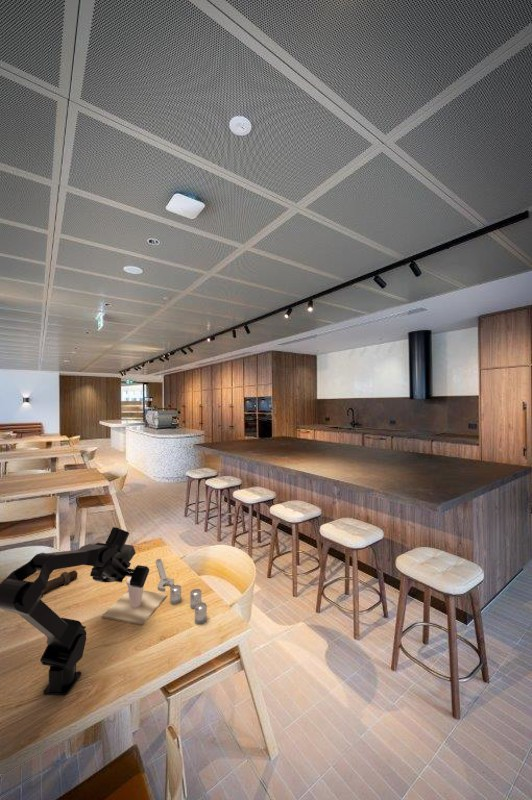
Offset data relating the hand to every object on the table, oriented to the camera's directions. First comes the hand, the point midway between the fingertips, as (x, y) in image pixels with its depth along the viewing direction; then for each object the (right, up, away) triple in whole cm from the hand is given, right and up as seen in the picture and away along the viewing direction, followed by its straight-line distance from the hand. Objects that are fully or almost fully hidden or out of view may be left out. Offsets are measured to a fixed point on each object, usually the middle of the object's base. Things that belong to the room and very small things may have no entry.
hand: (131, 581), depth 116 cm
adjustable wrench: (+4, -11, +24) cm, 27 cm away
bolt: (-36, -11, +14) cm, 40 cm away
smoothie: (+1, -10, +3) cm, 11 cm away
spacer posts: (+21, -11, +2) cm, 24 cm away
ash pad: (+1, -11, +3) cm, 11 cm away
